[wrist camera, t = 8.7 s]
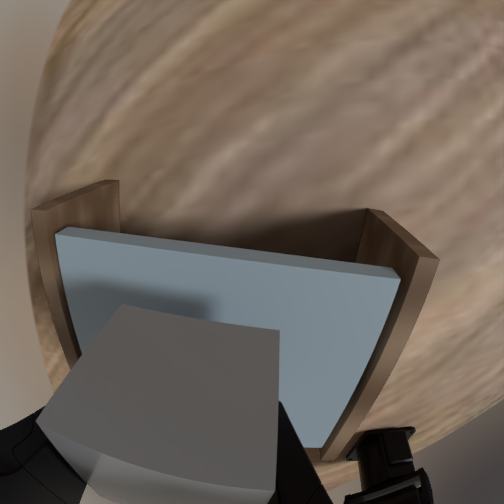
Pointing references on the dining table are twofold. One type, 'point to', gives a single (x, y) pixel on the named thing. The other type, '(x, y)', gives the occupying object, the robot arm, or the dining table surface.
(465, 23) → the dining table surface
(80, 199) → the frame
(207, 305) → the trapdoor
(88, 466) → the grey cube
